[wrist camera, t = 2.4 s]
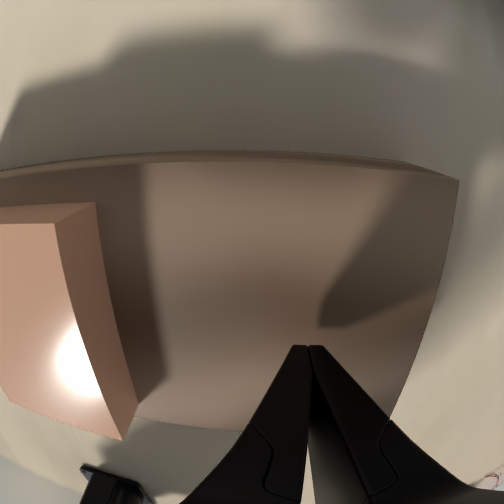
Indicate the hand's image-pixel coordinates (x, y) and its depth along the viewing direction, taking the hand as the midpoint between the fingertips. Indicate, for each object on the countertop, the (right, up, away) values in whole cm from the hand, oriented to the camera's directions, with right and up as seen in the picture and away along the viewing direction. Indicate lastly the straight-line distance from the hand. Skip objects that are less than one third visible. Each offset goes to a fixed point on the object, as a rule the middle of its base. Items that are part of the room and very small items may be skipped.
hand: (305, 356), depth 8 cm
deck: (-6, +2, +5) cm, 8 cm away
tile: (-9, +1, +1) cm, 9 cm away
